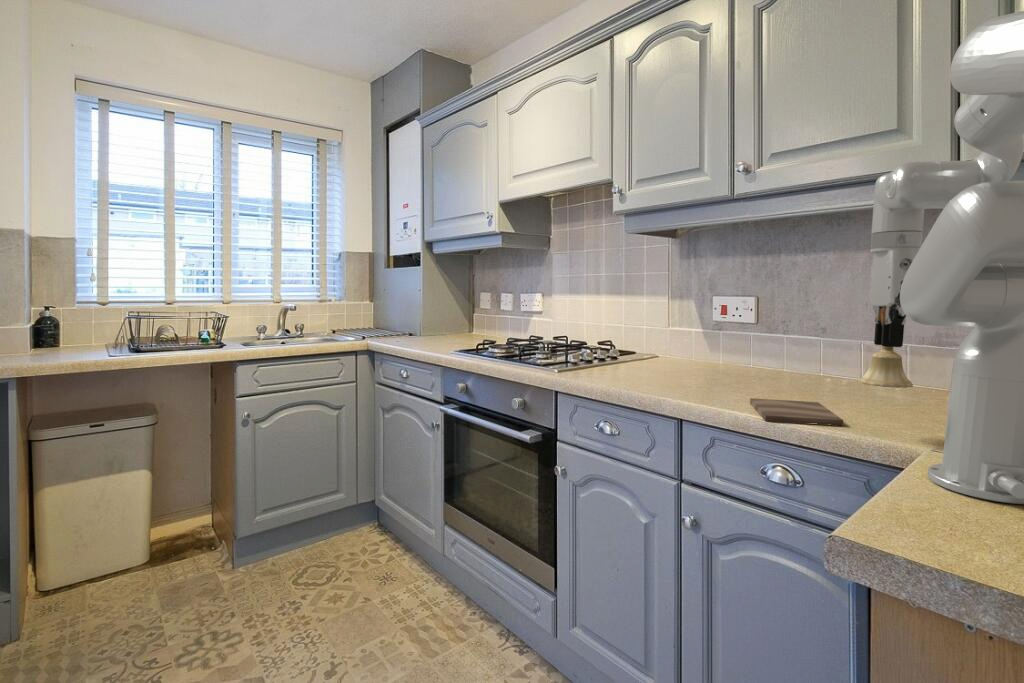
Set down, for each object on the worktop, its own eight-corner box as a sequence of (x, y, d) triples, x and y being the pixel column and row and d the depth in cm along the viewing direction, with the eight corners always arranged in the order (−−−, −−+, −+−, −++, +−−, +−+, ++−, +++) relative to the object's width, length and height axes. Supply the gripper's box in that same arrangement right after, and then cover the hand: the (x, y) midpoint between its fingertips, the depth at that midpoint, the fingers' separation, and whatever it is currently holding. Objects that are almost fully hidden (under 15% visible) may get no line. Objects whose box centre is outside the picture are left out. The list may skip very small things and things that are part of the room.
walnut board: (842, 426, 106) (843, 420, 106) (765, 421, 110) (765, 415, 109) (817, 407, 122) (817, 402, 122) (750, 403, 125) (750, 398, 125)
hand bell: (904, 389, 95) (911, 297, 93) (851, 383, 101) (857, 296, 100) (918, 385, 100) (925, 297, 99) (867, 379, 106) (873, 296, 105)
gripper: (943, 239, 89) (934, 351, 91) (899, 247, 105) (891, 342, 107) (891, 239, 91) (883, 349, 93) (855, 247, 107) (848, 341, 108)
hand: (888, 345), depth 100 cm, fingers closed on hand bell
